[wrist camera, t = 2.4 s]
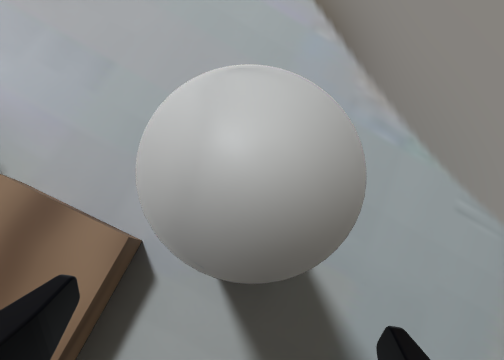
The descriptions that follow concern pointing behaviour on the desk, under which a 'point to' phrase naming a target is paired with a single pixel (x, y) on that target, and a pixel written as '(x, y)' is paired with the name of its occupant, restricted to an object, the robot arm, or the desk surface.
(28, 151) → the desk surface
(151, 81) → the desk surface
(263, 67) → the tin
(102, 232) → the base slab
